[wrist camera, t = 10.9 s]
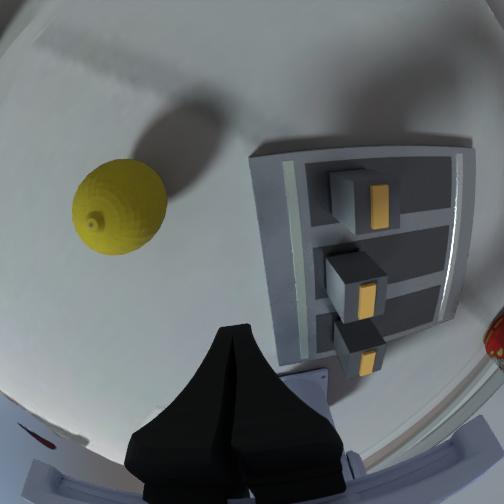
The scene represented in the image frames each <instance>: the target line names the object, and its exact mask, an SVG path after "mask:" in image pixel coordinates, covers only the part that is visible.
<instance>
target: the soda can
mask: <svg viewBox="0 0 504 504" xmlns="http://www.w3.org/2000/svg"><path fill="white" fill-rule="evenodd" d="M483 342H484V344H485V348H486V352H487V354H488V355H489V356H490V357H491V358H492V360H493V361H494V362H495V363H496V364H497V366H498V367H499V368H500V369H501V370H502V372H503V373H504V313H503V314H500V315H499V316H497V317H496V318H495V319H494V321H493V322H492V323H491V324H490V326H489V327H488V329H487V331H486V333H485V335H484V339H483Z"/></svg>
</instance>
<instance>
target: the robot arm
mask: <svg viewBox="0 0 504 504" xmlns="http://www.w3.org/2000/svg"><path fill="white" fill-rule="evenodd" d="M323 375H324V376H323ZM327 386H328V370H327V369H319V370H314V371H309V372H304V373H299V374H294V375H289V376H283V377H278V375H277V374H276V373H275V372H274V370H273V369H272V368H271V366H270V365H269V364H268V362H267V361H266V359H265V358H264V356H263V354H262V352H261V351H260V349H259V347H258V345H257V343H256V341H255V339H254V337H253V334H252V329H251V325H250V324H248V323H247V324H240V325H233V326H226V327H220V328H219V329H218V332H217V334H216V336H215V339H214V341H213V343H212V345H211V347H210V349H209V351H208V353H207V355H206V357H205V358H204V360H203V362H202V364H201V365H200V367H199V368H198V370H197V371H196V373H195V375H194V376H193V378H192V379H191V380H190V382H189V383H188V384H187V386H186V387H185V388H184V389H183V391H182V392H181V393H180V394H179V395H178V396H177V397H176V399H175V400H174V401H173V402H172V403H171V404H170V405H169V406H168V407H167V408H166V409H165V410H163V411H162V412H161V413H160V414H159V415H158V416H157V417H156V418H154V419H153V420H152V421H150V422H149V423H148V424H146V425H145V426H143V427H142V428H141V429H139V430H138V431H136V432H135V433H133V434H132V436H131V439H130V441H129V444H128V448H127V452H126V457H125V461H124V465H125V467H126V469H127V470H128V471H129V472H130V473H131V474H133V475H134V476H135V477H137V478H138V479H139V480H141V481H142V482H143V483H145V485H144V491H143V494H140V493H134V492H128V491H123V490H118V489H113V488H109V487H105V486H100V485H97V484H93V483H90V482H86V481H82V480H79V479H76V478H73V477H70V476H66V475H64V474H62V473H61V472H60V471H59V470H57V469H56V468H55V467H53V466H51V465H49V464H47V463H44V462H41V461H39V460H37V459H33V462H32V464H31V467H30V470H29V473H28V476H27V479H26V482H25V485H24V488H23V491H22V494H21V497H22V498H23V499H25V500H26V501H28V502H30V503H31V504H439V503H441V502H443V501H445V500H446V499H448V498H450V497H451V496H453V495H455V494H456V493H458V492H460V491H461V490H463V489H464V488H466V487H467V486H469V485H470V484H472V483H473V482H475V481H476V480H477V479H479V478H480V477H481V476H482V475H484V474H485V473H486V472H488V471H489V470H490V469H491V468H492V467H494V466H495V465H496V464H497V463H498V462H499V461H501V460H502V459H503V458H504V450H503V449H502V447H501V445H500V443H499V442H498V440H497V438H496V437H495V435H494V433H493V432H492V430H491V428H490V427H489V425H488V423H487V422H486V420H485V419H484V417H483V416H482V415H479V416H477V417H476V418H474V419H472V420H471V421H469V422H468V423H466V424H464V425H463V426H461V427H460V428H459V429H458V430H456V432H454V434H453V435H452V437H451V439H449V440H447V441H445V442H443V443H442V444H440V445H438V446H436V447H434V448H432V449H430V450H428V451H426V452H424V453H421V454H419V455H417V456H415V457H413V458H410V459H408V460H406V461H403V462H401V463H399V464H396V465H394V466H391V467H388V468H386V469H383V470H380V471H378V472H375V473H372V474H369V475H367V473H366V470H365V467H364V464H363V462H362V459H361V457H360V455H359V454H358V453H355V452H353V451H352V450H351V451H348V452H346V456H347V458H346V456H345V452H344V448H343V443H342V440H341V438H340V436H339V434H338V433H337V431H336V428H335V425H334V422H333V419H332V415H331V412H330V409H329V406H328V403H327Z"/></svg>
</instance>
